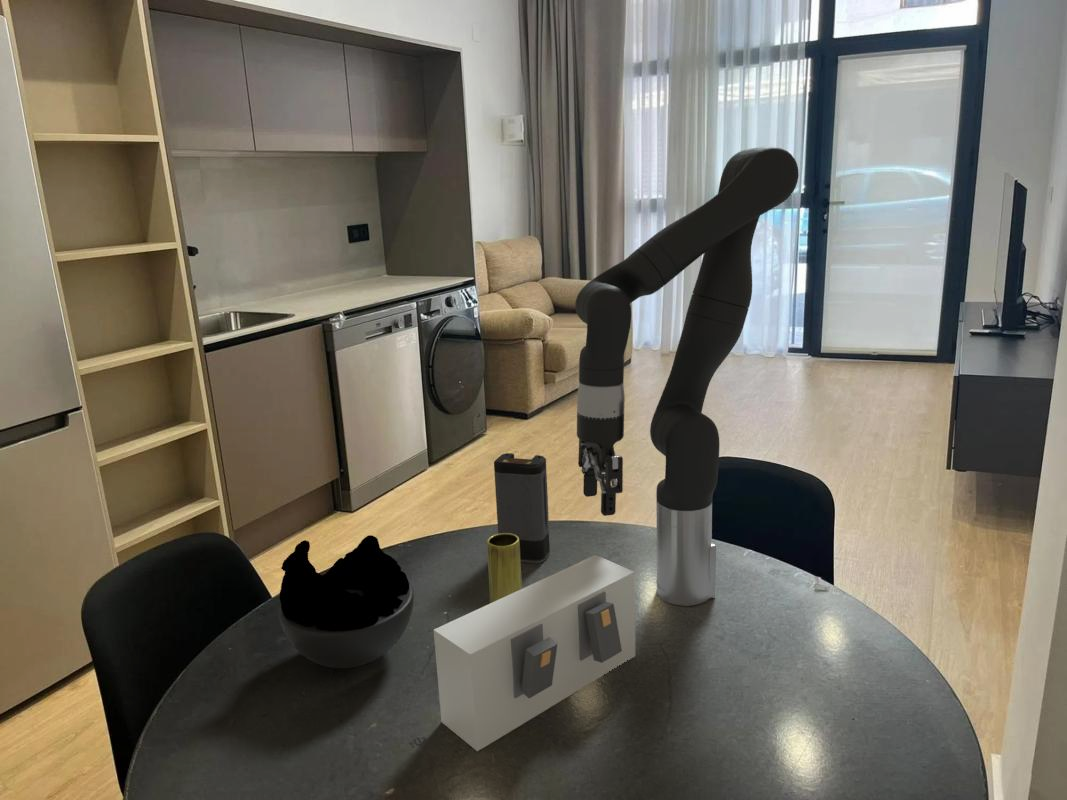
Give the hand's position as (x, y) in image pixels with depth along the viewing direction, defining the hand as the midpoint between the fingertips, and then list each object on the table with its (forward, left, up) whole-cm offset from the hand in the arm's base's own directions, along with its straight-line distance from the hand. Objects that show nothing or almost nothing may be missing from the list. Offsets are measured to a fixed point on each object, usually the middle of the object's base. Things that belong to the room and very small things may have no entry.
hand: (598, 504), depth 130 cm
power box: (+14, +20, -18) cm, 31 cm away
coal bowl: (+41, +5, -19) cm, 45 cm away
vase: (+16, 0, -19) cm, 25 cm away
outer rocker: (+17, +28, -13) cm, 35 cm away
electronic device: (+9, -22, -19) cm, 30 cm away
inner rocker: (+5, +23, -13) cm, 27 cm away
